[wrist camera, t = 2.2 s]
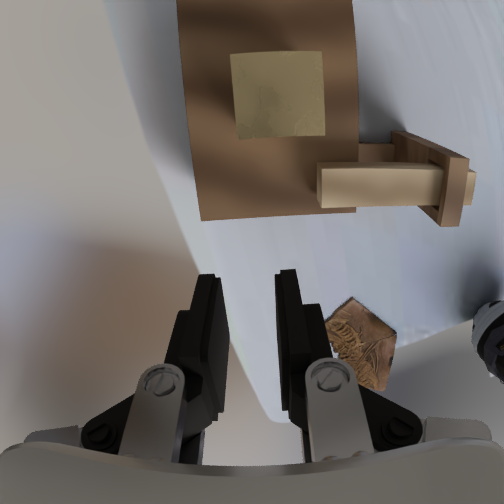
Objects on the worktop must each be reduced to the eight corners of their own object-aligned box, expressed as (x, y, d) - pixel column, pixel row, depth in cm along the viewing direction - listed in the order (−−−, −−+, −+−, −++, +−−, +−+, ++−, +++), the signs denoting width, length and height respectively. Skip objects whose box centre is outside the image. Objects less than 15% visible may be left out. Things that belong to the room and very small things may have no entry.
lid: (180, -11, 18) (152, -43, 11) (343, -17, 17) (375, -49, 10) (203, 213, 28) (187, 258, 21) (350, 205, 27) (379, 246, 20)
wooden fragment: (310, 310, 42) (311, 315, 41) (386, 281, 40) (388, 286, 39) (349, 400, 53) (350, 404, 52) (403, 380, 51) (404, 384, 50)
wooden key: (316, 162, 23) (321, 169, 21) (464, 165, 23) (476, 172, 21) (316, 198, 25) (321, 208, 23) (459, 196, 24) (471, 205, 22)
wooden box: (194, 7, 23) (163, -31, 13) (402, 11, 22) (464, -10, 12) (212, 189, 33) (193, 241, 23) (404, 182, 32) (458, 227, 22)
